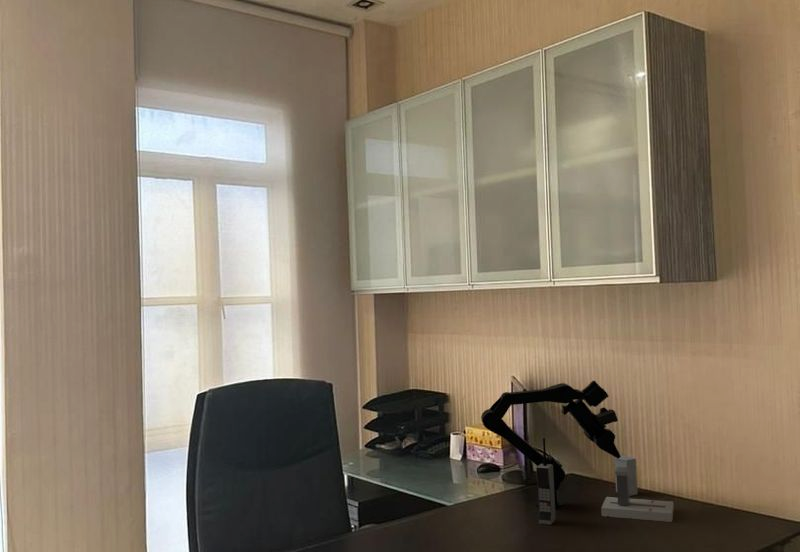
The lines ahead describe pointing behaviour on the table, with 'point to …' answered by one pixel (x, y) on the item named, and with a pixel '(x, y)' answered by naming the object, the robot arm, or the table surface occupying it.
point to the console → (639, 509)
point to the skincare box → (631, 464)
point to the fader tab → (623, 485)
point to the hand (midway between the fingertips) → (615, 454)
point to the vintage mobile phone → (546, 491)
